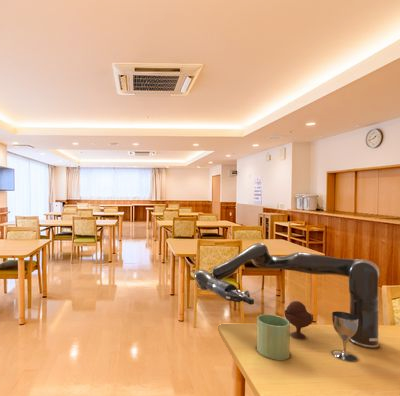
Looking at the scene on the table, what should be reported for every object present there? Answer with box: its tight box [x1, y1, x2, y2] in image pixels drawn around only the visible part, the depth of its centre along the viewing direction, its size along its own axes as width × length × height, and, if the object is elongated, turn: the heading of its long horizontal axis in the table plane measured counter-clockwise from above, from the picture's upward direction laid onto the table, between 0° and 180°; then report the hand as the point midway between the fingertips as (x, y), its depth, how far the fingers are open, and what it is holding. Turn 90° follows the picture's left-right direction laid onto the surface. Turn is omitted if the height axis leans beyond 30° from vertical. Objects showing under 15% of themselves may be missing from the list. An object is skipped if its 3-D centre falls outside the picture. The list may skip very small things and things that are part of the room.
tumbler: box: [256, 313, 291, 361], centre depth 110 cm, size 11×11×12 cm
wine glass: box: [331, 310, 358, 362], centre depth 107 cm, size 8×8×15 cm
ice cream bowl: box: [283, 300, 314, 340], centre depth 122 cm, size 11×11×15 cm
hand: (252, 302), depth 119 cm, fingers closed
